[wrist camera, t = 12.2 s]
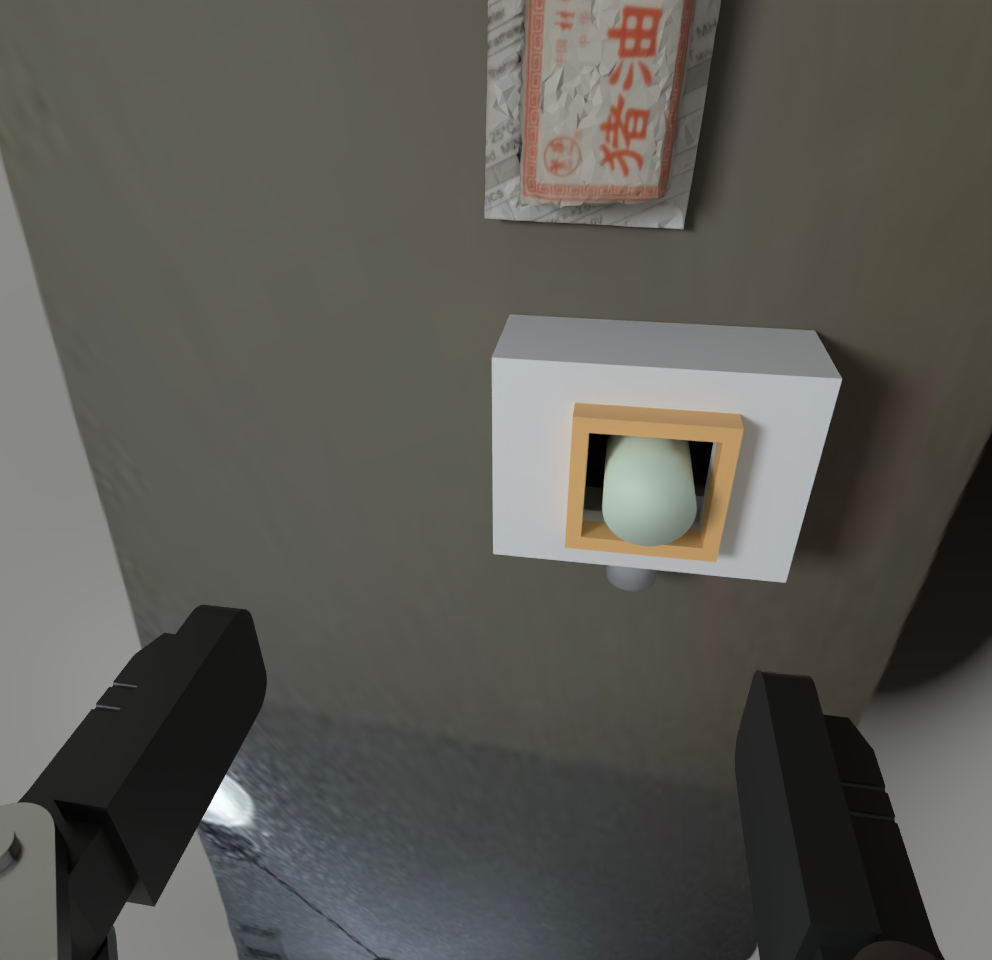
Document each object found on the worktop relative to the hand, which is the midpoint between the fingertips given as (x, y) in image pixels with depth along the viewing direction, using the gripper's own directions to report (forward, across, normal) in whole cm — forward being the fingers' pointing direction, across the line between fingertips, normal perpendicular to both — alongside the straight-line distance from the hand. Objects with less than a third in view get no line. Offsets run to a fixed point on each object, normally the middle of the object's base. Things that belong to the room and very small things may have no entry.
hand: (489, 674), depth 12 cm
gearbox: (+30, -4, +13) cm, 33 cm away
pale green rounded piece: (+30, -4, +11) cm, 32 cm away
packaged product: (+31, 0, -9) cm, 32 cm away
